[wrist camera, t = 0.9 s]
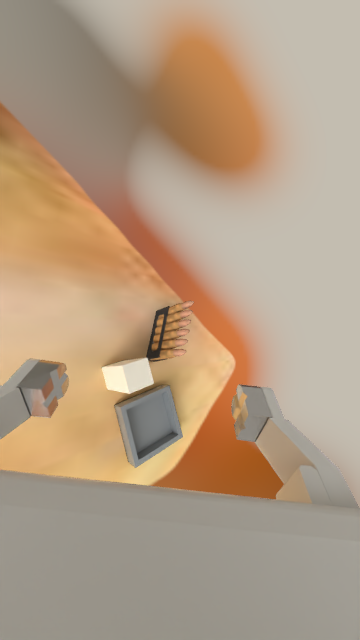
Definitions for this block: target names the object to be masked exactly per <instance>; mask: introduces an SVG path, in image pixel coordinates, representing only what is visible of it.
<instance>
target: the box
mask: <svg viewBox="0 0 360 640" xmlns="http://www.w3.org/2000/svg"><path fill="white" fill-rule="evenodd" d="M114 406H115V410H116V414H117V418H118V422H119V426H120V430H121V434H122V438H123V442H124V446H125V450H126V454H127V458H128V462H129V463H130V464H131V465H133V466H134V467H135V468H136V467H138V466H139V465H141V464H142V463H144V462H145V461H147V460H148V459H150V458H151V457H153V456H155V455H156V454H158V453H159V452H161V451H162V450H164V449H165V448H167V447H168V446H170V445H171V444H173V443H174V442H176V441H178V440H179V439H181V438H182V437H183V435H182V432H181V428H180V424H179V420H178V416H177V412H176V409H175V405H174V401H173V397H172V393H171V390H170V386H169V385H160V386H158V387H155V388H153V389H151V390H148V391H146V392H144V393H141V394H139V395H137V396H134V397H132V398H130V399H127V400H125V401H123V402H120V403H118V404H116V405H114Z"/></svg>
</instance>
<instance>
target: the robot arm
mask: <svg viewBox="0 0 360 640" xmlns="http://www.w3.org/2000/svg"><path fill="white" fill-rule="evenodd" d="M65 371H66V365H65V364H64V363H59V362H52V361H45V360H37V359H29V360H27V361H26V362H25V363H24V364H23V365H22V366H21V367H20V368H19V369H18V370H17V371H16V372H15V373H14V374H13V375H12V376H11V377H10V378H9V380H8V381H7V382H6V383H5V384H4V385H3V386H0V439H2V438H3V437H4V436H6V435H7V434H8V433H10V432H11V431H12V430H14V429H15V428H16V427H18V426H19V425H20V424H22V423H23V422H24V421H26V420H27V419H28V418H30V416H37V417H48V418H50V417H51V416H52V414H53V412H54V411H55V409H56V408H57V406H58V401H57V400H58V399H60V398H61V397H63V396H64V394H65V393H66V391H67V388H68V385H69V378H68V376H67V375H66V374H65V373H64V372H65ZM236 391H237V394H236V395H235V396H234V397H233V400H232V406H231V407H232V415H233V417H234V418H235V420H236V422H235V424H234V427H235V432H236V438H237V439H239V440H245V441H252V442H255V443H256V445H257V446H258V448H259V449H260V450H261V452H262V453H263V455H264V456H265V458H266V459H267V460H268V462H269V463H270V465H271V466H272V468H273V469H274V470H275V472H276V473H277V475H278V476H279V477H280V479H281V480H282V482H283V483H284V486H283V487H282V488H281V489H280V490H279V492H278V493H277V494H276V499H277V500H274V499H264V498H256V497H246V496H237V495H228V494H219V493H209V492H201V491H191V490H182V489H173V488H164V487H154V486H146V485H136V484H127V483H118V482H109V481H100V480H90V479H81V478H72V477H63V476H54V475H44V474H35V473H26V472H17V471H7V470H0V640H360V508H359V506H358V504H357V502H356V501H355V498H354V496H353V495H352V493H351V491H350V489H349V487H348V485H347V483H346V481H345V479H344V477H343V475H342V473H341V471H340V470H339V468H338V467H337V466H336V465H335V464H334V463H333V462H331V460H330V459H329V458H327V457H326V456H325V455H324V454H323V453H322V452H321V451H320V450H319V449H318V448H317V447H316V446H315V445H314V444H313V443H312V442H311V441H310V440H309V439H308V438H307V437H305V436H304V435H303V434H302V433H301V432H300V431H299V430H298V429H297V428H296V427H295V426H294V425H293V424H292V423H291V422H290V421H289V420H286V419H284V416H283V414H282V411H281V409H280V407H279V404H278V402H277V399H276V397H275V394H274V392H273V390H272V389H271V388H265V387H257V386H248V385H240V384H239V385H238V387H237V389H236Z"/></svg>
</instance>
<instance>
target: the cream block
mask: <svg viewBox="0 0 360 640" xmlns="http://www.w3.org/2000/svg"><path fill="white" fill-rule="evenodd" d="M102 370H103V374H104V378H105V382H106V386H107V389H108V390H113V391H118V392H123V393H128V394H130V393H133V392H135V391H137V390H140V389H142V388H145V387H147V386H149V385H152V384H154V381H153V378H152V374H151V370H150V366H149V362H148V358H139V359H131V360H123V361H120V362H117V363H114V364H110V365H107V366H104V367H102Z"/></svg>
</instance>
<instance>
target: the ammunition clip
mask: <svg viewBox="0 0 360 640" xmlns="http://www.w3.org/2000/svg"><path fill="white" fill-rule="evenodd" d="M193 303H194V301H187V302H184V303H181V304H176V305H174V306H172V307H169V306H168V307H166V308H163V309H161V310H158V311H156V315H155V320H154V324H153V329H152V334H151V338H150V343H149V347H148V352H147V357H146V358H148V360H149V361H153V362H155V361H160V360H165V359H168V358H173V357H176V356H181V355H183V354H185V353H186V350H183V349H173V348H176V347H178V346H182V345H184V344H186V343H187V342H188V340H186V339H176V338H178V337H181V336H184V335H186V334H187V333H189V330H188V329H181V330H178V329H179V328H182V327H184V326H186V325H188V324H189V323H190V322H191V320H181V319H183V318H185V317H187V316H189V315H190V314H191V313H192V312H193V311H192V310H186V311H183V310H184V309H186V308H188V307H190V306H191V305H192V304H193ZM181 311H182V312H181ZM179 320H181V321H179ZM174 339H176V340H174Z"/></svg>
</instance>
